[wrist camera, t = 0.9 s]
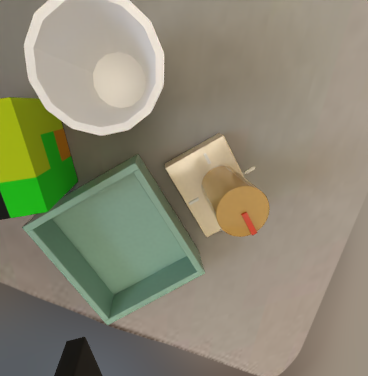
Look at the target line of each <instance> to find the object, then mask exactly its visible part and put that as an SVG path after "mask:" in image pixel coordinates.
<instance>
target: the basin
mask: <svg viewBox="0 0 368 376" xmlns="http://www.w3.org/2000/svg"><path fill="white" fill-rule="evenodd" d="M22 228H23V229H24V230H25V231H26V232H27V234H28V235H29V236H30V237H31V238H32V239H33V241H34V242H35V243H36V244H37V245H38V246H39V247H40V249H41V250H42V251H43V252H44V253H45V254H46V255H47V257H48V258H49V259H50V260H51V261H52V262H53V263H54V265H55V266H56V267H57V268H58V269H59V270H60V271H61V273H62V274H63V275H64V276H65V277H66V278H67V279H68V281H69V282H70V283H71V284H72V285H73V286H74V288H75V289H76V290H77V291H78V292H79V293H80V294H81V296H82V297H83V298H84V299H85V300H86V301H87V302H88V304H89V305H90V306H91V307H92V308H93V309H94V310H95V312H96V313H97V314H98V315H99V316H100V317H101V318H102V320H103V321H104V322H105V323H106V324H107V325H109V324H111V323H113V322H115V321H117V320H118V319H120V318H122V317H124V316H126V315H128V314H130V313H132V312H133V311H135V310H137V309H139V308H141V307H143V306H145V305H147V304H148V303H150V302H152V301H154V300H156V299H158V298H160V297H162V296H163V295H165V294H167V293H169V292H171V291H173V290H175V289H177V288H178V287H180V286H182V285H184V284H186V283H188V282H190V281H192V280H193V279H195V278H197V277H199V276H201V275H203V274H205V271H204V268H203V264H202V261H201V257H200V254H199V251H198V249H197V248H196V246H195V244H194V243H193V241H192V240H191V238H190V236H189V235H188V233H187V232H186V230H185V228H184V227H183V225H182V224H181V222H180V220H179V219H178V217H177V215H176V214H175V212H174V211H173V209H172V207H171V206H170V204H169V203H168V201H167V199H166V198H165V196H164V195H163V193H162V191H161V190H160V188H159V186H158V185H157V183H156V182H155V180H154V178H153V177H152V175H151V174H150V172H149V170H148V169H147V167H146V166H145V164H144V162H143V161H142V159H141V158H140V156H139V154H137V155H135V156H133V157H132V158H130V159H128V160H126V161H125V162H123V163H121V164H119V165H118V166H116V167H114V168H113V169H111V170H109V171H107V172H106V173H104V174H102V175H100V176H99V177H97V178H95V179H93V180H92V181H90V182H88V183H86V184H85V185H83V186H81V187H79V188H78V189H76V190H74V191H72V192H71V193H69V194H67V195H66V196H64V197H62V198H61V199H60V200H59V201H58V202H57V203H56V204H55V205H54V206H53V207H52V208H51V209H50V210H49V211H48V212H45V213H39V214H36V215H35V216H34V217H33V218H32V219H31V220H30V221H28V222H27V223H26V224H25V225H24V226H23V227H22Z"/></svg>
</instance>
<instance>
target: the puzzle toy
mask: <svg viewBox="0 0 368 376" xmlns="http://www.w3.org/2000/svg"><path fill="white" fill-rule="evenodd" d="M77 182H78V179H77V176H76V172H75V168H74V165H73V161H72V157H71V154H70V150H69V147H68V143H67V139H66V136H65V132H64V128H63V125H62V121H61V120H60V119H58V118H57V117H56V116H54V115H53V114H52V113H50V112H49V111H48V110H46V109H45V107H44V105H43V104H42V102H41V100H40V99H37V98H15V97H9V98H1V99H0V220H2V219H8V218H14V217H20V216H26V215H32V214H39V213H45V212H48V211H49V210H50V209H51V208H52V207H53V206H54V205H55V204H56V203H57V202H58V201H59V200H60V199H61V198H62V197H63V196H64V195H65V194H66V193H67V192H68V191H69V190H70V189H71V188H72V187H73V186H74V185H75V184H76V183H77Z"/></svg>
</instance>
